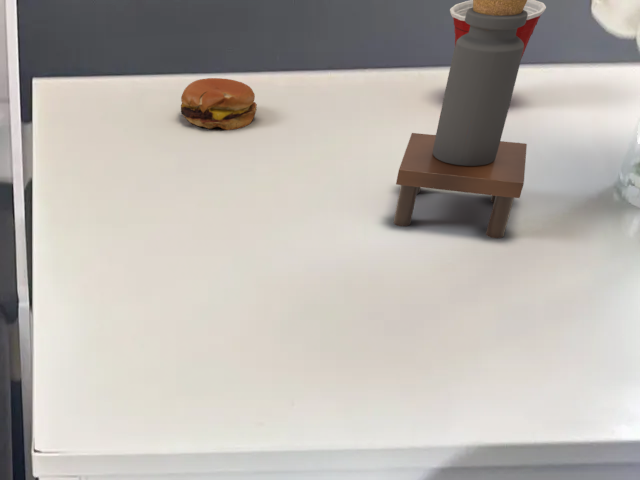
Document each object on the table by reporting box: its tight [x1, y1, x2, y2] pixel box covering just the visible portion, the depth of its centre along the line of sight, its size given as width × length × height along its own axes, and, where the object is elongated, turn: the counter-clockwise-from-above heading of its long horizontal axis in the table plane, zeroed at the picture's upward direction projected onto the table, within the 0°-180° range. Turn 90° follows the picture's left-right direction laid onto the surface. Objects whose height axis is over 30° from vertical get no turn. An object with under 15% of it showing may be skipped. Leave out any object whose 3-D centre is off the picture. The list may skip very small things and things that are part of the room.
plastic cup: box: [449, 0, 547, 60], centre depth 120 cm, size 11×11×12 cm
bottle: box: [433, 0, 528, 166], centre depth 88 cm, size 6×6×15 cm
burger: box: [180, 77, 258, 131], centre depth 121 cm, size 10×9×5 cm
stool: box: [393, 132, 528, 239], centre depth 95 cm, size 11×11×6 cm
